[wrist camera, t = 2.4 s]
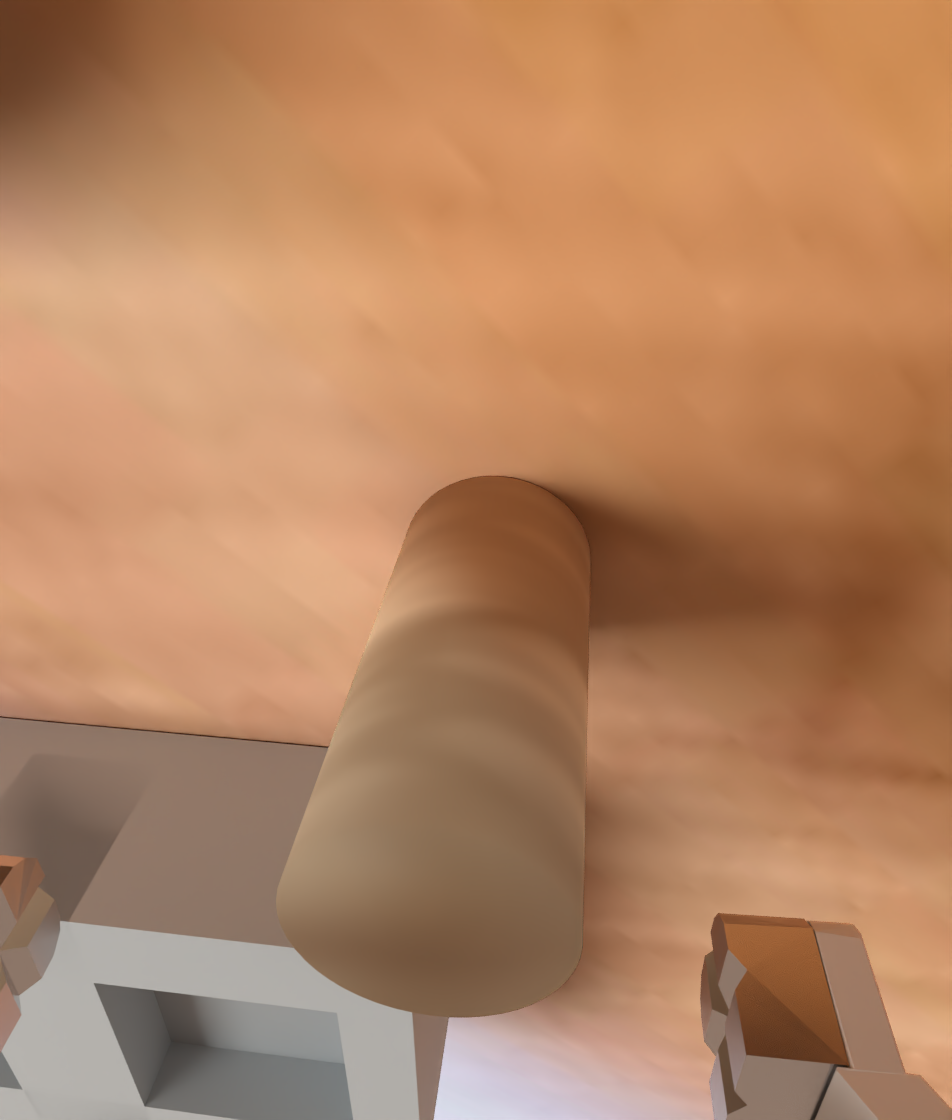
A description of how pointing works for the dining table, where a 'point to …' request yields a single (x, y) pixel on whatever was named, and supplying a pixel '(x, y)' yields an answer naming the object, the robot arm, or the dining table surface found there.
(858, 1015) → the robot arm
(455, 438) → the dining table surface
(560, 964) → the dowel
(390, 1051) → the bore block
